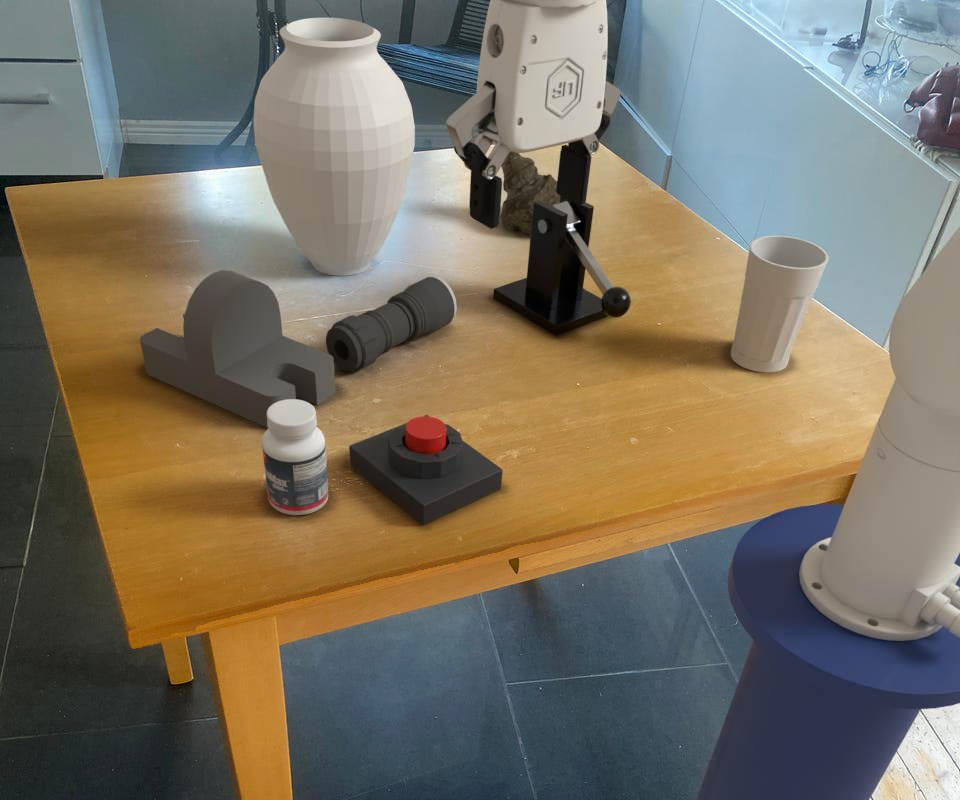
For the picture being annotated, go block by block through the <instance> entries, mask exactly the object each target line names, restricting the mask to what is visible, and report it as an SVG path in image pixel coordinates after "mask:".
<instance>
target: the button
mask: <svg viewBox="0 0 960 800" xmlns="http://www.w3.org/2000/svg"><path fill="white" fill-rule="evenodd" d="M406 423H407V424H406V427H405V444H406V447H407V448H408V449H409V450H410V451H412V452H416V453H420V454H436V453H438V452H440V451H442V450H443V449H444V448H445V446H446V425H445V424H446V423H445V422H444V421H442V420H441V419H439V418H437V417H433V416H429V417H427V416H425V415H423V416H416V417H414V418H412V419H410V420H409V421H407V422H406Z"/></svg>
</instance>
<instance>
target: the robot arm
mask: <svg viewBox="0 0 960 800" xmlns="http://www.w3.org/2000/svg"><path fill="white" fill-rule="evenodd" d="M607 7H608V6H607V0H490V1H489V5H488V9H487V12H486V13H487V14H486V18H485V23H484V29H483V35H482V40H481V47H480V56H479V62H478V70H477V71H478V72H477V82H476V92H475V93H474V95H472V96H471V97H470V98H468V99H467V100H466V101H465V102H464V103H463V104H462V105H461V106H460V107H459V108H457V109H456V110H455V111H454V112H453V113H452V114H450V116H448V118H447V119H446V122H445V125H446V129H447V132H448V134H449V137H450V139H451V142H452V144H453V150H454V153H455V154H456V155H457V157H459V159H460V160H461V161H462V162H463V165H464V167H465V168H466V169H468V170H470V181H469V182H470V185H469V202H468V203H469V216H470V218H471V219H472V220H474V221H476V222H478V223H480V224H481V225H483V226H485V227H487V228H488V229H490V230H492V229H497V228H498V227H499V226H500V222H501V218H500V216H501V208H502V207H501V205H502V193H503V192H502V190H503V179H502V178H501V177H500V176H498V175H497V174H498V173H499V171H500V169H501V168H502V167H501V166H502V164H503V162H504V161H505V159H506V157H507V156H508V154H509V152H510V151H513V152H516V153H519V154H524V153H530V152H535V151H540V150H544V149H548V148H552V147H557V146H561V148H560V153H559V161H558V170H557V171H558V172H557V180H556V181H557V188H556V192H557V194H558V195H560V196H562V197H564V198H566V199H568V200H570V201H572V202H574V203H576V204H578V205H581V204H584V203H585V202H586V203H587V194H588V188H589V187H588V186H589V181H590V173H591V164H592V156H594V155H595V154H597V152H598V151H599V149H600V140H601V138H602V137H603V136H604V134H605V133H606V131H607V130H608V128H609V127H610V124H611V116H613V113H614V111H615V109H616V106H617V105H618V102H619V100H620V97H621V94H622V93H621V90H620V88H618V87H617V86H615V85H614V84H612V83H611V82H609V80H607V67H608V45H609V44H608V39H609V37H608V36H609V35H608V34H609V33H608V32H609V26H608V25H609V24H608V23H609V22H608V8H607ZM475 127H476V131H477V134H478V135H477V137H476V138H475V140H474V135H473V130H474V128H475ZM492 145H494V146H493V148H492V149H491V151H490V152H489V155H488V156H487V155H486V154H487V153H488V151H489V149H490V148H491V146H492ZM897 307H898V308H897V309H896V311H895V314H894V317H893V320H892V323H891V325H890V326H891V327H890V330H889V332H890V333H889V339H888V352H889V360H890V365H891V369H892V372H893V374H894V377H895V378H894V381H893V383H892V386H891V388H890V391H889V393H888V395H887V397H886V398H887V399H886V401H885V402H884V406H883V408H882V410H881V413H880V415H879V417H878V420H877V421H876V424H875V426H874V429H873V432H872V433H871V436H870V440H869V442H868V444H867V446H866V449H865V452H864V454H863V457H862V460H861V463H860V465H859V468H858V470H857V473H856V475H855V478H854V480H853V482H852V485H851V487H850V490H849V492H848V494H847V497H846V500H845V503H844V504H843V505H844V507H843V510H842V513H841V515H840V518H839V520H838V523H837V525H836V528H835V530H834V533H833V535H832V537H830V538H827V539H824V540H822V541H820V542H818V543H816V544H815V545H813V546H812V547H811V548H810V549H809V550H808V551H807V553H806V554H805V556H804V558H803V561H802V563H801V566H800V571H799V578H800V584H801V586H802V589H803V591H804V593H805V595H806V596H807V598H808V599H809V601H810V602H811V603H812V604H813V605H814V606H815V607H816V608H817V609H818V610H819V611H820V612H821V613H822V614H824V615H825V616H826V617H828V618H829V619H830V620H832V621H833V622H835V623H837V624H839V625H840V626H842V627H844V628H846V629H849V630H851V631H853V632H855V633H858V634H861V635H865V636H868V637H871V638H876V639H882V640H890V641H907V640H916V639H920V638H924V637H927V636H929V635H931V634H933V633H935V632H937V631H938V630H939V629H940V628H941V627H942V626H943V627H945V628H946V629H948V630H949V632H951V633H952V634H954V635H956V636H957V637H959V638H960V591H959V590H960V587H958V586H957V585H955V584H956V582H957V580H958V579H959V577H960V567H959V566H958V565H956V564H954V563H955V561H956V559H957V557H958V555H959V553H960V226H958V228H956V230H955V231H954V232H953V234H952V235H951V236H950V238H949V239H948V240H947V242H946V243H945V244H944V246H942V248H941V250H940V251H938V253H937V255H936V256H935V257H934V258H933V259H932V261H931V262H930V263H929V265H928V266H927V267H926V268H925V269H924V271H923V272H922V273H921V275H919V277H918V279H916V281H915V282H914V283H913V284H912V286H911V287H910V288H909V290H908V291H907V293H906V294H905V295H904V297H903V298H902V300H901V301H900V304H899V305H898V306H897ZM955 607H956V608H955Z"/></svg>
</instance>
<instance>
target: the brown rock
mask: <svg viewBox="0 0 960 800" xmlns="http://www.w3.org/2000/svg"><path fill="white" fill-rule="evenodd" d="M535 164H536V162H535V161H534V160H533V159H532V158H531V157H525V156H522V155H521V153H516V152H513V151H510V152H509V154H508V156H507V157H506V159H505V161H504V162H503V164H502V166H501V167H500V168H501V170H502V174H503V181H502V190H503V191H504V192H505V193H506V199H505V200H504V201H503V202H502V207H501V212H500V221H502V223H503V224H504V226H505V227H506V228H507V229H508V230H510V231H517V230H520V229H521V231H522V232H523V233H524V234H527V235H531V227H532V216H533V205H534V202H537V201H542V202H544V203H546V204H548V205H550V206H553V205H555V204H559V203H560V195H558V194H557V192H556V188H557V180H556V179H555V178H554V177H553V176H552V174H551V173H548V174H540V173H539V171H538V167H537V166H535ZM596 211H597V210H596ZM597 212H598V211H597ZM597 219H598V218H596V220H597Z"/></svg>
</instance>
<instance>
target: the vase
mask: <svg viewBox="0 0 960 800" xmlns="http://www.w3.org/2000/svg"><path fill="white" fill-rule="evenodd" d="M279 35H280V37H281V39H282V41H283V43H284V46H285V47H284V50H283V51H282V52H281V54H280V55H278V57H277V58H276V60H275V61H274V62H273V64H272V65H271V66H270V67H269V69H268V70H267V71H266V73H264V75H263V77H262V78H261V80H260V82H259V86H258V89H257V92H256V95H255V99H254V105H253V106H254V107H253V136H254V146H255V149H256V152H257V155H258V158H259V161H260V164H261V167H262V171H263V175H264V177H265V180H266V184H267V187H268V191H269V193H270V196H271V199H272V201H273V203H274V205H275V207H276V209H277V211H278V213H279V215H280V217H281V220H282V221H283V223H284V224H285V226H286V228H287V230H288V231H289V233H290V235H291V237H292V239H293V241H294V242H295V244H296V245H297V247H298V249H299V250H300V251H301V253H302V254H303V255H304V257H305V258H306V259H307V260H309V262H310V263H311V265H312V267H313V268H314V269H315V270H316V271H317V272H319V273H322V274H325V275H329V276H337V277H348V276H354V275H358V274H361V273H364V272H365V271H367V270H368V269H369V268H370V266H371V263H372V262H373V261H374V259H375V258H376V257H377V255H378V254H379V253H380V251H381V249H382V248H383V246H384V244H385V243H386V241H387V238H388V237H389V234H390V232H391V230H392V228H393V226H394V223H395V221H396V218H397V216H398V213H399V211H400V209H401V206H402V203H403V200H404V197H405V192H406V188H407V182H408V179H409V173H410V169H411V165H412V161H413V155H414V150H415V146H416V145H415V144H416V143H415V142H416V127H415V126H416V125H415V119H414V114H413V106H412V103H411V101H410V98H409V95H408V93H407V90H406V88H405V85H404V83H403V81H402V79H401V78H399V76H398V75H397V74H396V73H395V71H394V70H393V69H392V67H391V66H390V65H389V64H388V62H387V61H386V60H384V58H383V57H382V56H381V55H380V54H379V51H378V50H377V49H378V43H379V42H380V39H381V37H382V34H381V32H380V31H379V30H378V29H376V28H374V27H373V26H371V25H369V24H367V23H365V22H363V21H358V20H354V19H350V18H349V19H348V18H339V17H310V18H302V19H298V20H295V21H292V22H290V23H287V24H286V25H284V26H282V27H281V28H280V29H279Z"/></svg>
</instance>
